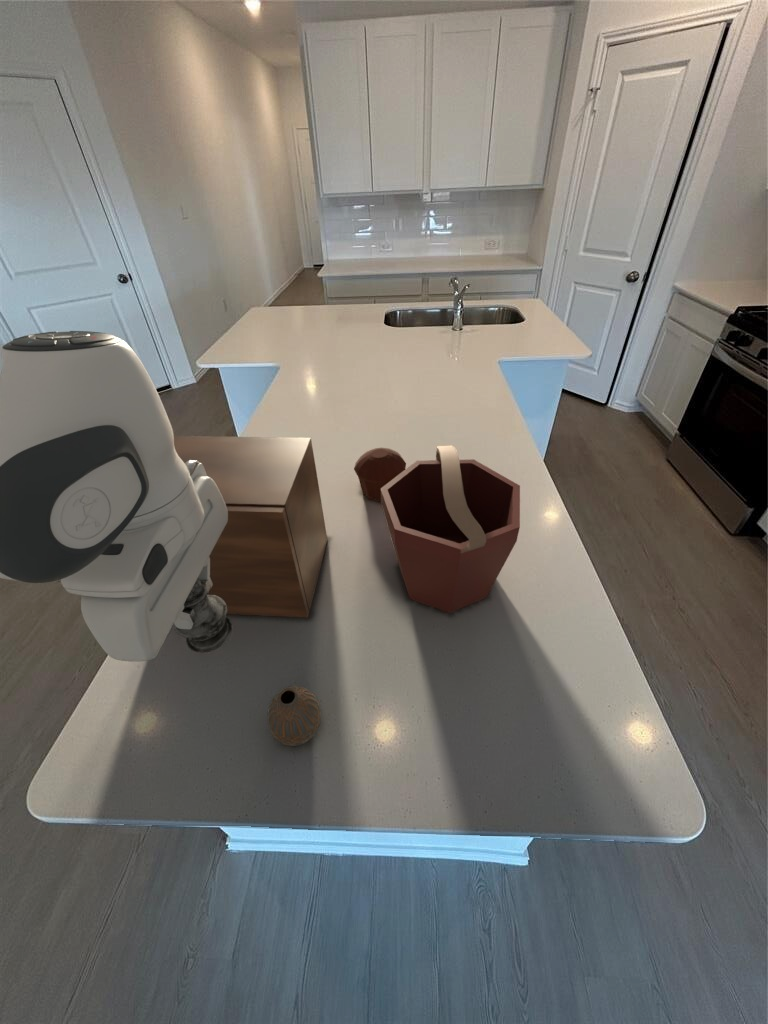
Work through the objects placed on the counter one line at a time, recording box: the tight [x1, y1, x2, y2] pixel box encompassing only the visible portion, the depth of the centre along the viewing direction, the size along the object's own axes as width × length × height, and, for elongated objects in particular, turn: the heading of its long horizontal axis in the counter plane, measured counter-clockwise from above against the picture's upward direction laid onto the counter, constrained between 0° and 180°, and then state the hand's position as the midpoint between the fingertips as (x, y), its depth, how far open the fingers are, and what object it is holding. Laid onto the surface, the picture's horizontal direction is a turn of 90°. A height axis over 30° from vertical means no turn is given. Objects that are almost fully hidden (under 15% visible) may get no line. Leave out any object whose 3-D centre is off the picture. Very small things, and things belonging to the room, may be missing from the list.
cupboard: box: [174, 435, 328, 612], centre depth 76 cm, size 18×26×24 cm
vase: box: [267, 685, 322, 747], centre depth 58 cm, size 7×7×9 cm
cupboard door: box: [208, 506, 310, 618], centre depth 67 cm, size 6×26×24 cm, turn 85°
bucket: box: [380, 445, 521, 614], centre depth 73 cm, size 24×22×25 cm
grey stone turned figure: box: [173, 578, 233, 654], centre depth 49 cm, size 6×6×12 cm
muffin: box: [353, 447, 407, 503], centre depth 99 cm, size 12×11×10 cm
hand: (196, 606), depth 49 cm, fingers closed on grey stone turned figure, 3 cm apart
